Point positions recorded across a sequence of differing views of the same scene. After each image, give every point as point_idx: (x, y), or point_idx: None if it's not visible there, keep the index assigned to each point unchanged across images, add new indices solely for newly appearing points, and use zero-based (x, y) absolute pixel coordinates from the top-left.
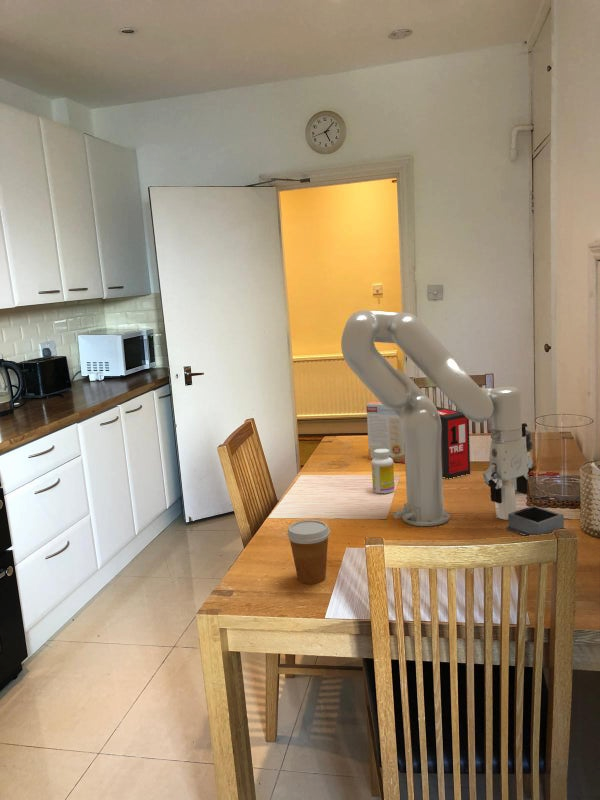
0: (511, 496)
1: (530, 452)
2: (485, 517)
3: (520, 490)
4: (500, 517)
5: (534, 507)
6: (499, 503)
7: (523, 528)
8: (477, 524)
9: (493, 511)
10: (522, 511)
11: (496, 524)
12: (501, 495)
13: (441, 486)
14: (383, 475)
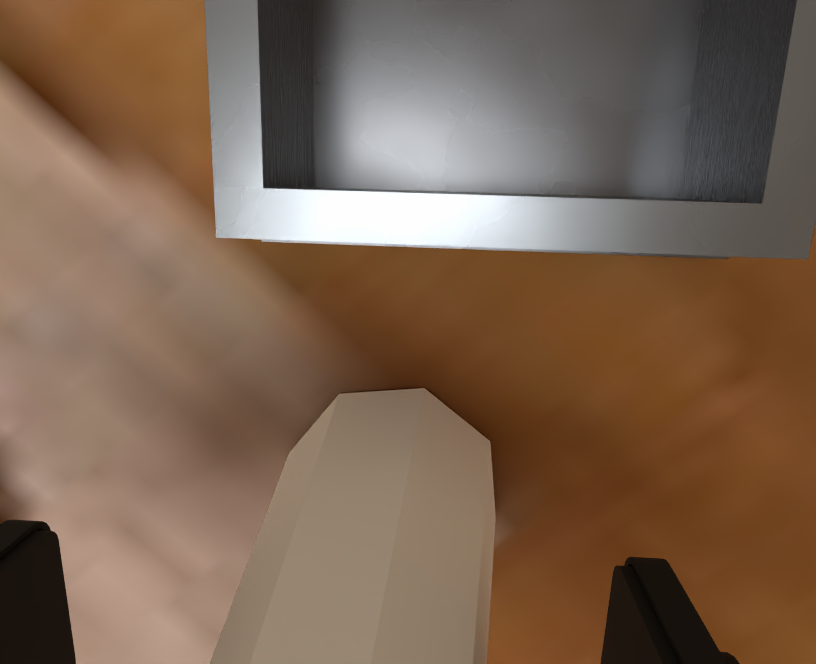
0: (391, 566)
1: None
2: (570, 605)
3: (43, 640)
4: (492, 497)
5: (262, 175)
6: (488, 620)
7: None
8: (791, 545)
9: None
10: (530, 196)
11: (659, 418)
12: (660, 654)
13: None
14: None
